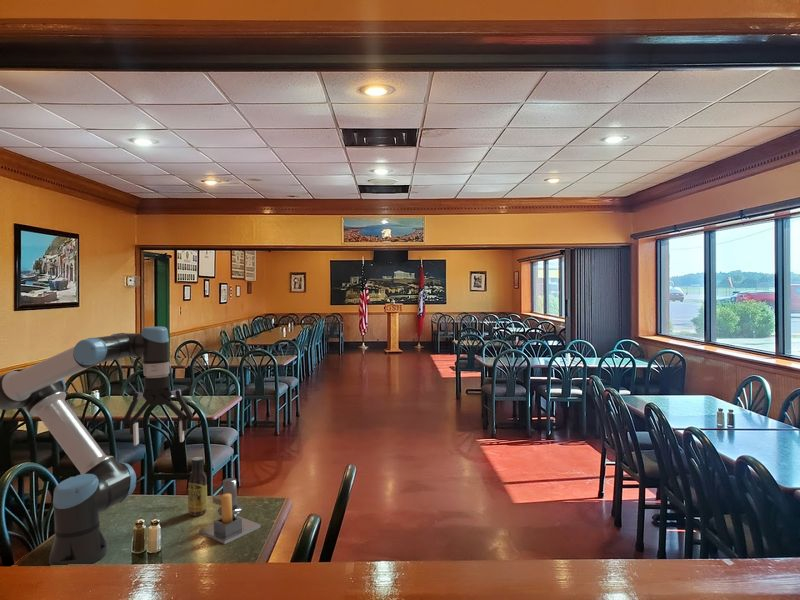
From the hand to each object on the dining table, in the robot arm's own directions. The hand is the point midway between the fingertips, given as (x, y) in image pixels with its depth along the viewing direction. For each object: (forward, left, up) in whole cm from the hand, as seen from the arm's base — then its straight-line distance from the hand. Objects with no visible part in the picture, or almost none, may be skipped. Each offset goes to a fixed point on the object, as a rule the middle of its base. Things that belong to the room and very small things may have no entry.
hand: (159, 442), depth 173 cm
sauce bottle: (-10, +19, -32) cm, 38 cm away
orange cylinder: (+13, +14, -31) cm, 36 cm away
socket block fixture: (+9, +17, -32) cm, 37 cm away
